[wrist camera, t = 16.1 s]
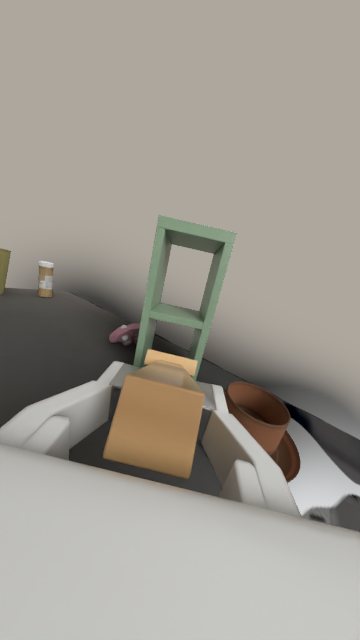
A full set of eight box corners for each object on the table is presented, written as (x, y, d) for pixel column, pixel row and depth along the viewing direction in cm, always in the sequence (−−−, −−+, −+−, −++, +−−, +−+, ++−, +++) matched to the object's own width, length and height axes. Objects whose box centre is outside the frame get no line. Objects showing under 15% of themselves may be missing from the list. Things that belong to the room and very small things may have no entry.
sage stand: (192, 392, 29) (236, 232, 23) (130, 378, 29) (158, 214, 23) (191, 364, 39) (222, 247, 32) (145, 353, 38) (167, 234, 32)
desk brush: (247, 495, 4) (262, 377, 5) (42, 445, 4) (82, 334, 5) (187, 380, 23) (191, 359, 23) (148, 371, 23) (154, 350, 24)
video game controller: (111, 353, 38) (120, 333, 35) (106, 338, 41) (114, 318, 37) (148, 348, 45) (158, 331, 42) (142, 335, 48) (151, 318, 44)
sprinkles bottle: (35, 295, 65) (35, 259, 62) (48, 295, 69) (49, 262, 66) (41, 297, 63) (42, 261, 60) (55, 297, 67) (56, 263, 64)
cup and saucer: (191, 468, 17) (207, 420, 16) (201, 395, 29) (210, 363, 27) (317, 519, 15) (347, 470, 14) (273, 419, 27) (287, 386, 25)
